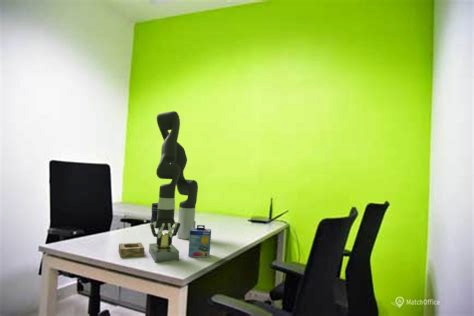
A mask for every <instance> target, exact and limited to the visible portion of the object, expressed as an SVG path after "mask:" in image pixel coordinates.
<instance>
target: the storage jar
mask: <svg viewBox="0 0 474 316" xmlns="http://www.w3.org/2000/svg"><path fill="white" fill-rule="evenodd" d="M157 212H158V202H154V203H153V202H152V203H151V217H150V218H151V219H150V223H155V222H156V220H157ZM154 229H159V227H158V226H157V224H156V227H155V228H154Z"/></svg>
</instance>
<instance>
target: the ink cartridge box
mask: <svg viewBox="0 0 474 316" xmlns="http://www.w3.org/2000/svg"><path fill="white" fill-rule="evenodd" d="M196 225H197V226H196V227H195V228H191V229H190V237H189V239H188V240H189V241H188V254H187V255H188V257H189V258H205V259H206V258H208V259H209V258H210V256H211V244H212V243H211V242H212V229H211V228H206V227H205V226H206V225H204V224H201V225H200V224H196Z"/></svg>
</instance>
